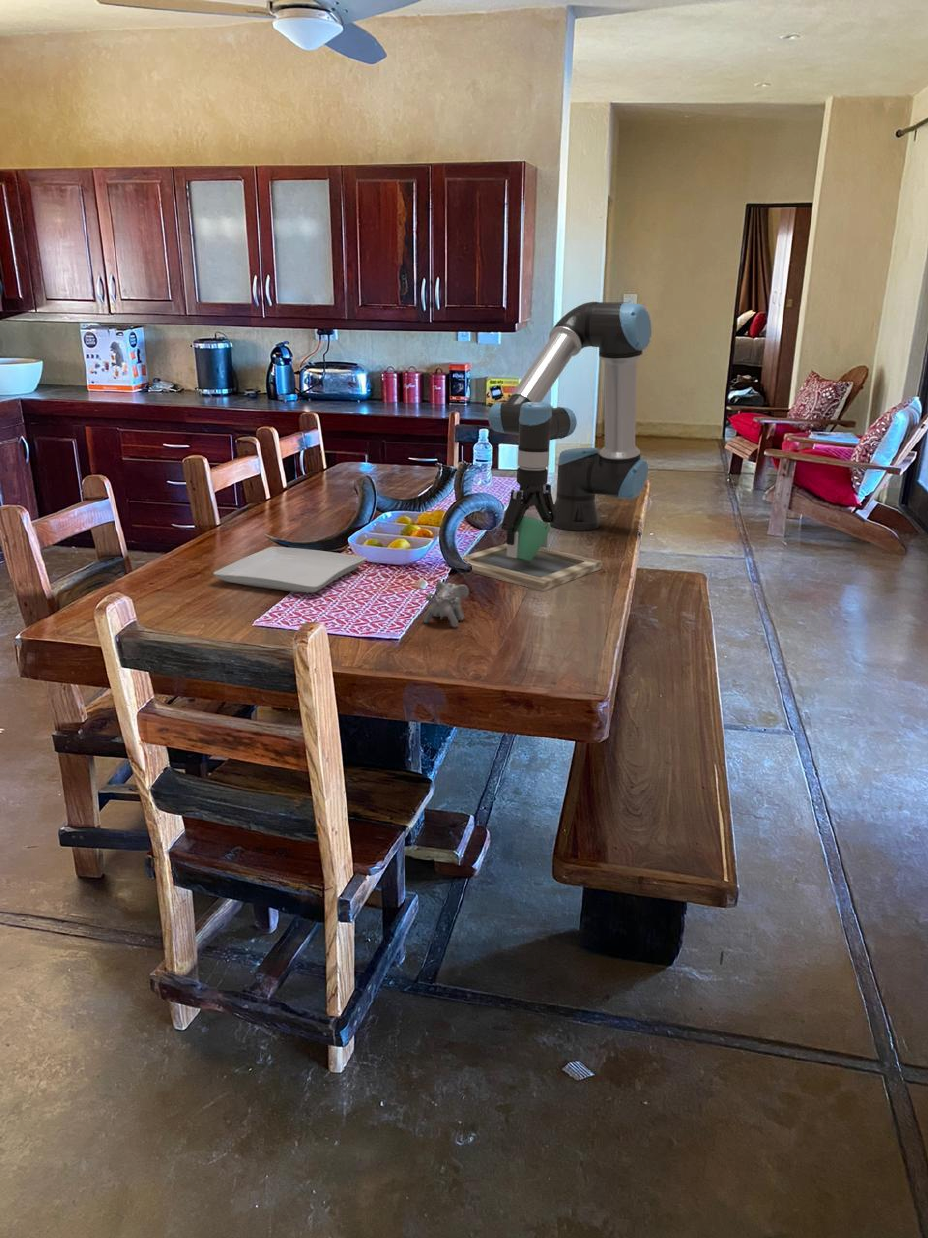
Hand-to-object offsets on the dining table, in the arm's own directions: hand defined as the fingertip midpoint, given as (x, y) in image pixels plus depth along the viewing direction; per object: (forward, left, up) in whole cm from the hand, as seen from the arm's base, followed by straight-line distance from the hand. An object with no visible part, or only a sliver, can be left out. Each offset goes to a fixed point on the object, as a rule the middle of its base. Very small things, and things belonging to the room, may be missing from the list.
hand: (527, 551), depth 225 cm
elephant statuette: (+43, +10, -4) cm, 44 cm away
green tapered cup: (+2, 0, -2) cm, 3 cm away
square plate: (+46, -36, -5) cm, 59 cm away
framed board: (0, 0, -4) cm, 4 cm away
